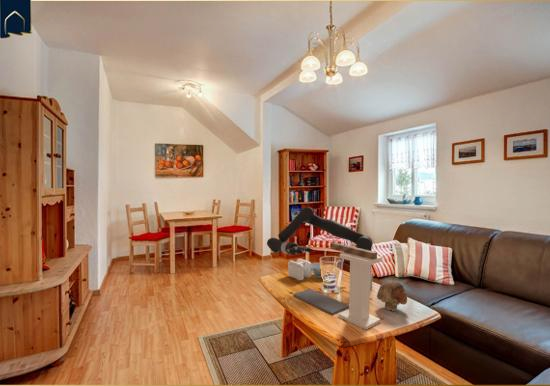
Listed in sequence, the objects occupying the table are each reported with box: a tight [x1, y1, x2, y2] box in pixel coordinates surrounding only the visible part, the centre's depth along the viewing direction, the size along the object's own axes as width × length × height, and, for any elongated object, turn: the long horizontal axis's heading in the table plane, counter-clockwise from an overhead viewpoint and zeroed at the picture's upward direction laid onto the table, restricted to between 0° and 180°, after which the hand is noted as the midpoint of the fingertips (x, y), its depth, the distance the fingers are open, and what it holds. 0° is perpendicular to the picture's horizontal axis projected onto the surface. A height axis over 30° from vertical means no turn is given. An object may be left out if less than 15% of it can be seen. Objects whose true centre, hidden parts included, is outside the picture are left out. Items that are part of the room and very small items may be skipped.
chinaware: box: [310, 262, 321, 278], centre depth 202 cm, size 15×15×8 cm
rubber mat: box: [292, 288, 349, 316], centre depth 159 cm, size 30×14×1 cm, turn 38°
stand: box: [337, 252, 383, 330], centre depth 138 cm, size 16×12×32 cm
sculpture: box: [376, 280, 408, 312], centre depth 150 cm, size 15×16×15 cm
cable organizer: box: [287, 258, 312, 281], centre depth 198 cm, size 15×11×12 cm
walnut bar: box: [329, 242, 378, 260], centre depth 142 cm, size 26×3×3 cm, turn 38°
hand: (307, 251), depth 164 cm, fingers open, 8 cm apart
